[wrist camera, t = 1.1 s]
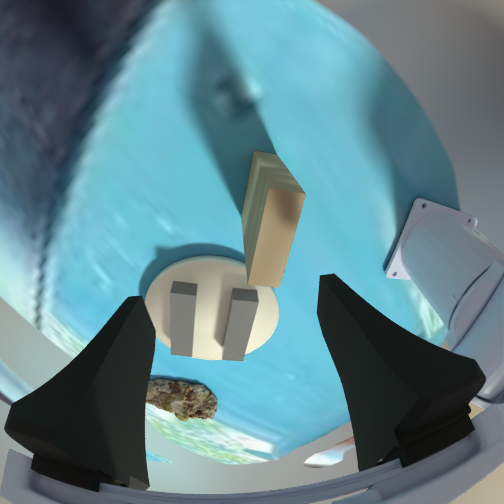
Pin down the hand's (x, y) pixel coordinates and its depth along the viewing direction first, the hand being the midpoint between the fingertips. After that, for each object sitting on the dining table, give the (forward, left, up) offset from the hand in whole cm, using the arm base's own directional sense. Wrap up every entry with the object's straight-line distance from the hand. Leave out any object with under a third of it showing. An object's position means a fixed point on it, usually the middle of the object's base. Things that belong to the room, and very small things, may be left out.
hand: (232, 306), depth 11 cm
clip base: (0, +10, -11) cm, 15 cm away
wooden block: (-2, -2, -11) cm, 11 cm away
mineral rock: (+3, +26, -11) cm, 28 cm away
